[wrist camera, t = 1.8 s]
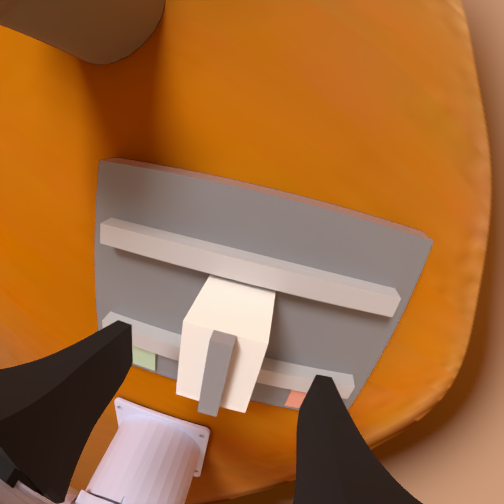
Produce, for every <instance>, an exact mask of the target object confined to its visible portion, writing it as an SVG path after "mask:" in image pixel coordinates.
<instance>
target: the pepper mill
mask: <svg viewBox="0 0 504 504" xmlns="http://www.w3.org/2000/svg"><path fill="white" fill-rule="evenodd" d="M164 5H165V0H0V25H2V26H5V27H7V28H10V29H13V30H15V31H18V32H20V33H23V34H25V35H28V36H30V37H32V38H35V39H37V40H39V41H42V42H44V43H46V44H49V45H51V46H53V47H55V48H58V49H60V50H62V51H64V52H66V53H69V54H71V55H73V56H75V57H77V58H79V59H81V60H83V61H85V62H88V63H92V64H96V65H102V64H110V63H114V62H116V61H118V60H121V59H123V58H125V57H128V56H129V55H130V54H131V53H133V52H134V51H135V50H137V49H138V48H139V47H141V46H142V45H143V44H144V43H145V41H146V40H147V39H148V38H149V37H150V36H151V34H152V33H153V32H154V31H155V29H156V27H157V25H158V23H159V21H160V19H161V17H162V14H163V10H164Z"/></svg>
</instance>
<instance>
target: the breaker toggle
mask: <svg viewBox="0 0 504 504" xmlns="http://www.w3.org/2000/svg"><path fill="white" fill-rule="evenodd" d="M275 293H276V290H272V289H268V288H264V287H260V286H256V285H252V284H248V283H244V282H240V281H236V280H232V279H228V278H224V277H221V276H217V275H213V274H210V276H209V277H208V279H207V281H206V282H205V284H204V286H203V287H202V289H201V291H200V293H199V294H198V296H197V298H196V299H195V301H194V303H193V305H192V306H191V308H190V310H189V311H188V313H187V315H186V317H185V318H184V320H183V326H182V335H181V344H180V354H179V365H178V376H177V388H176V394H178V395H181V396H184V397H187V398H191V399H194V400H197V401H199V405H198V411H197V412H200V413H204V414H207V415H211V416H214V417H217V414H218V410H219V407H223V408H227V409H231V410H235V411H239V412H243V413H245V412H246V409H247V406H248V403H249V400H250V398H251V395H252V392H253V389H254V386H255V383H256V380H257V377H258V374H259V371H260V368H261V365H262V362H263V359H264V356H265V352H266V349H267V346H268V343H269V336H270V329H271V322H272V315H273V307H274V300H275Z"/></svg>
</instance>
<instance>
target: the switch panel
mask: <svg viewBox="0 0 504 504" xmlns="http://www.w3.org/2000/svg"><path fill="white" fill-rule="evenodd" d="M432 244H433V240H431V239H430V238H429V237H428V236H427V235H426V234H424V233H423V232H422V231H419V230H416V229H413V228H410V227H407V226H404V225H401V224H398V223H394V222H391V221H388V220H385V219H382V218H378V217H375V216H372V215H368V214H365V213H362V212H358V211H355V210H351V209H348V208H344V207H341V206H337V205H333V204H330V203H326V202H322V201H319V200H315V199H311V198H307V197H304V196H300V195H296V194H292V193H288V192H284V191H280V190H276V189H272V188H268V187H263V186H259V185H255V184H251V183H246V182H242V181H237V180H233V179H228V178H224V177H219V176H214V175H210V174H205V173H200V172H195V171H190V170H185V169H180V168H174V167H169V166H164V165H158V164H153V163H147V162H141V161H135V160H129V159H123V158H116V157H114V158H109V159H104V160H99V170H98V182H97V195H96V214H95V288H96V307H97V321H98V331H99V330H101V329H103V328H105V327H107V326H108V325H110V324H112V323H114V322H116V321H117V320H120V321H123V322H125V323H128V324H131V325H132V353H133V363H132V365H134V366H137V367H140V368H143V369H145V370H148V371H151V372H154V373H157V374H160V375H163V376H166V377H169V378H172V379H175V380H177V376H178V365H179V354H180V344H181V335H182V326H183V320H184V318H185V317H186V315H187V313H188V311H189V310H190V308H191V306H192V305H193V303H194V301H195V299H196V298H197V296H198V294H199V293H200V291H201V289H202V287H203V286H204V284H205V282H206V281H207V279H208V277H209V276H210V274H213V275H217V276H221V277H224V278H228V279H232V280H236V281H240V282H244V283H248V284H252V285H256V286H260V287H264V288H268V289H272V290H276V293H275V300H274V307H273V315H272V322H271V329H270V336H269V343H268V346H267V349H266V352H265V356H264V359H263V362H262V365H261V368H260V371H259V374H258V377H257V380H256V383H255V386H254V389H253V392H252V395H251V398H250V400H252V401H256V402H260V403H265V404H270V405H275V406H280V407H285V408H290V409H296V410H299V408H300V406H301V404H302V402H303V400H304V398H305V396H306V394H307V392H308V390H309V388H310V386H311V384H312V382H313V380H314V378H315V376H316V374H317V375H323V376H328V377H332V379H333V381H334V383H335V385H336V387H337V389H338V392H339V394H340V396H341V398H342V400H343V402H344V404H345V406H346V408H347V410H348V409H349V408H350V406H351V405H352V403H353V401H354V400H355V398H356V397H357V395H358V394H359V392H360V390H361V389H362V387H363V385H364V384H365V382H366V381H367V379H368V377H369V375H370V374H371V372H372V370H373V369H374V367H375V365H376V363H377V362H378V360H379V358H380V356H381V354H382V353H383V351H384V349H385V347H386V345H387V343H388V342H389V340H390V338H391V336H392V334H393V332H394V330H395V328H396V326H397V324H398V322H399V320H400V318H401V316H402V314H403V312H404V310H405V308H406V305H407V303H408V301H409V299H410V297H411V295H412V292H413V290H414V288H415V286H416V283H417V281H418V279H419V276H420V274H421V272H422V269H423V267H424V264H425V262H426V259H427V257H428V254H429V252H430V249H431V247H432Z"/></svg>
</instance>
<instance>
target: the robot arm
mask: <svg viewBox="0 0 504 504" xmlns="http://www.w3.org/2000/svg"><path fill="white" fill-rule="evenodd" d="M132 363H133V353H132V325H131V324H128V323H125V322H123V321H120V320H117V321H116V322H114V323H112V324H110V325H108V326H107V327H105V328H103V329H101V330H99V331H98V332H96V333H94V334H92V335H91V336H89V337H87V338H85V339H83V340H81V341H79V342H78V343H76V344H74V345H71V346H69V347H67V348H65V349H63V350H61V351H59V352H57V353H54V354H52V355H50V356H47V357H44V358H42V359H39V360H36V361H33V362H30V363H26V364H22V365H18V366H15V367H10V368H5V369H0V504H185V501H186V497H187V494H188V491H189V488H190V485H191V481H192V478H193V476H195V477H199V476H200V474H201V470H202V466H203V461H204V457H205V453H206V448H207V444H208V440H209V435H210V430H209V428H207V427H204V426H201V425H197V424H194V423H191V422H187V421H184V420H181V419H178V418H175V417H171V416H168V415H165V414H162V413H160V412H157V411H154V410H151V409H148V408H146V407H143V406H140V405H138V404H135V403H132V402H130V401H127V400H125V399H122V398H116V399H115V409H116V414H117V420H118V425H119V429H118V431H117V432H116V434H115V436H114V438H113V440H112V442H111V443H110V445H109V447H108V449H107V451H106V453H105V455H104V456H103V458H102V460H101V462H100V464H99V466H98V468H97V469H96V471H95V473H94V475H93V477H92V479H91V481H90V483H89V485H88V486H87V488H86V490H85V491H84V490H81V492H80V494H79V495H78V497H77V496H75V495H74V494H72V493H69V494H67V491H68V488H69V484H70V481H71V478H72V476H73V473H74V470H75V468H76V465H77V462H78V460H79V458H80V455H81V453H82V451H83V448H84V446H85V444H86V442H87V440H88V438H89V436H90V433H91V431H92V429H93V427H94V426H95V424H96V422H97V421H98V419H99V418H100V416H101V414H102V413H103V411H104V410H105V408H106V407H107V405H108V404H109V402H110V401H111V400H112V398H113V397H114V395H115V394H116V392H117V390H118V389H119V387H120V386H121V384H122V383H123V381H124V379H125V377H126V375H127V373H128V371H129V369H130V367H131V365H132ZM36 492H37V493H38V494H37V493H36ZM39 494H40V495H42V496H44V497H45V498H47V499H49V500H51V501H52V502H54V503H52V502H50V501H48V500H47V499H45V498H44V497H42V496H40V495H39ZM66 494H67V495H66ZM293 504H422V503H421V502H420V501H418V500H417V499H415V498H414V497H413V496H412V495H411V494H410V493H409V492H408V491H406V490H405V489H404V488H403V487H402V486H401V485H400V484H399V483H398V482H397V481H396V480H395V479H394V478H393V477H392V476H391V475H390V473H389V472H388V471H387V470H386V469H385V468H384V467H383V466H382V464H381V463H380V462H379V461H378V459H377V458H376V457H375V455H374V454H373V453H372V451H371V450H370V448H369V447H368V445H367V444H366V442H365V441H364V439H363V437H362V436H361V434H360V432H359V431H358V429H357V427H356V425H355V424H354V422H353V420H352V418H351V416H350V414H349V412H348V410H347V408H346V406H345V404H344V402H343V400H342V398H341V396H340V394H339V392H338V389H337V387H336V385H335V383H334V381H333V379H332V377H328V376H323V375H317V374H316V376H315V378H314V380H313V382H312V384H311V386H310V388H309V390H308V392H307V394H306V396H305V398H304V400H303V402H302V404H301V406H300V408H299V416H298V424H297V464H296V488H295V496H294V502H293Z"/></svg>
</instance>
